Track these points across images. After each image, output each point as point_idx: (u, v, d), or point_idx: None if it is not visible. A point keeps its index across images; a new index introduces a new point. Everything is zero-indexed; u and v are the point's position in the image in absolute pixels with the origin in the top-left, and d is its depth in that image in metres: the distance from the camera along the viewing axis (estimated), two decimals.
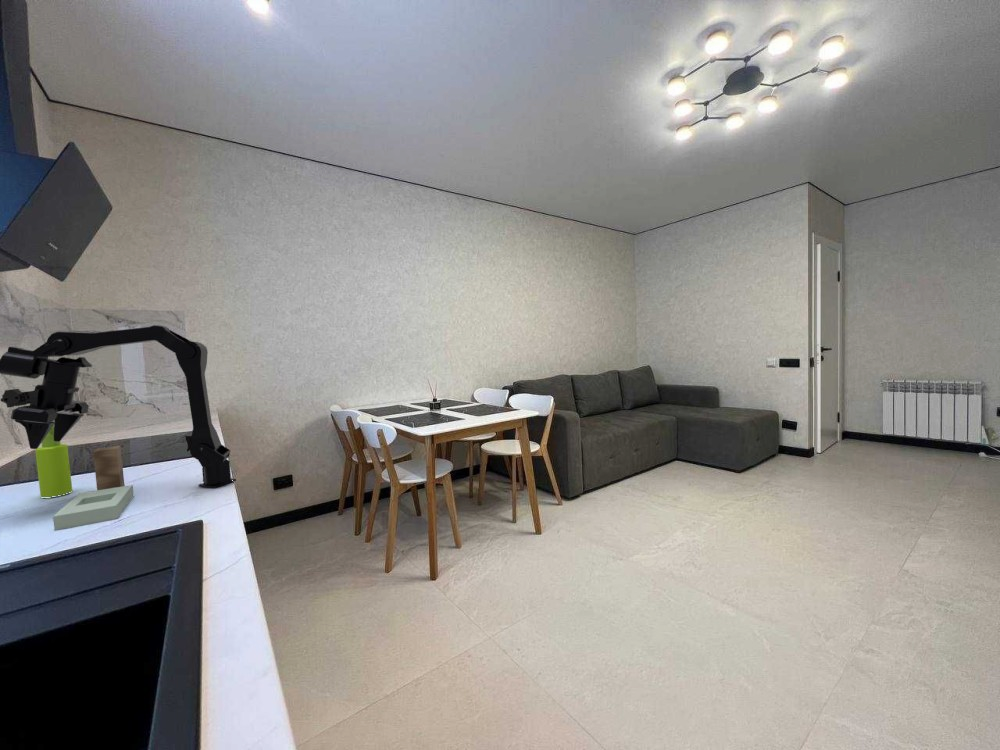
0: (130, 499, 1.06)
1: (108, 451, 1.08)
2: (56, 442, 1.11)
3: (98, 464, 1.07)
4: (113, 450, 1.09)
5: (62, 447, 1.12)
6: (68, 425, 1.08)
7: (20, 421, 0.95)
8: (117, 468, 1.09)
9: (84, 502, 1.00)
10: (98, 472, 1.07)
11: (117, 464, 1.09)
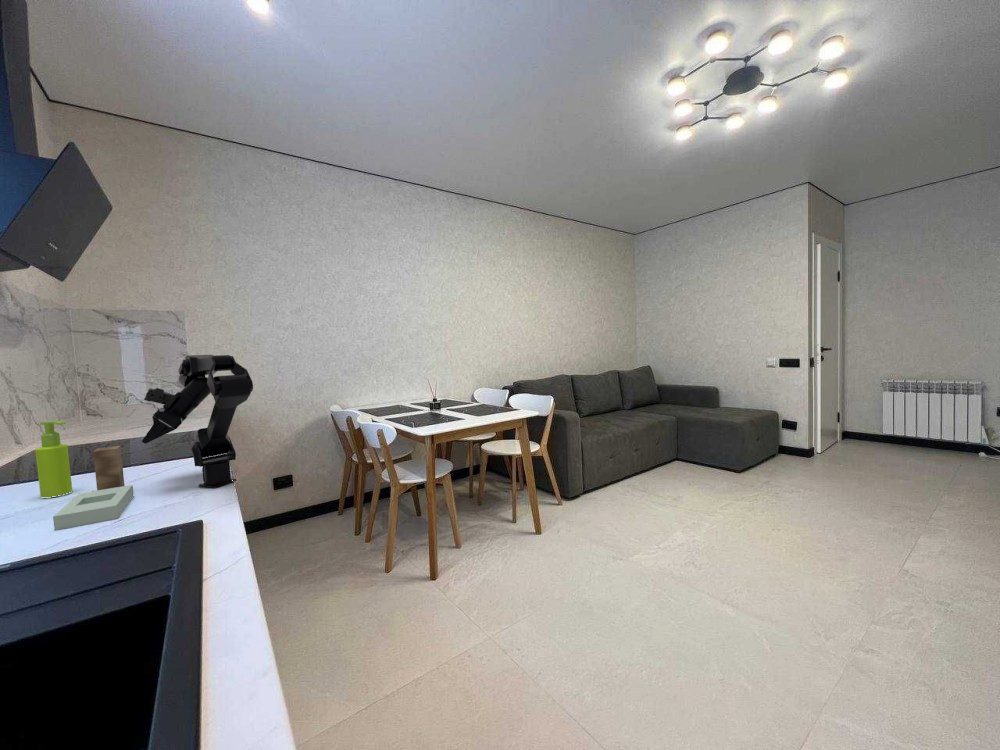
0: (130, 499, 1.06)
1: (108, 451, 1.08)
2: (56, 442, 1.11)
3: (98, 464, 1.07)
4: (113, 450, 1.09)
5: (62, 447, 1.12)
6: None
7: (156, 419, 1.09)
8: (117, 468, 1.09)
9: (84, 502, 1.00)
10: (98, 472, 1.07)
11: (117, 464, 1.09)
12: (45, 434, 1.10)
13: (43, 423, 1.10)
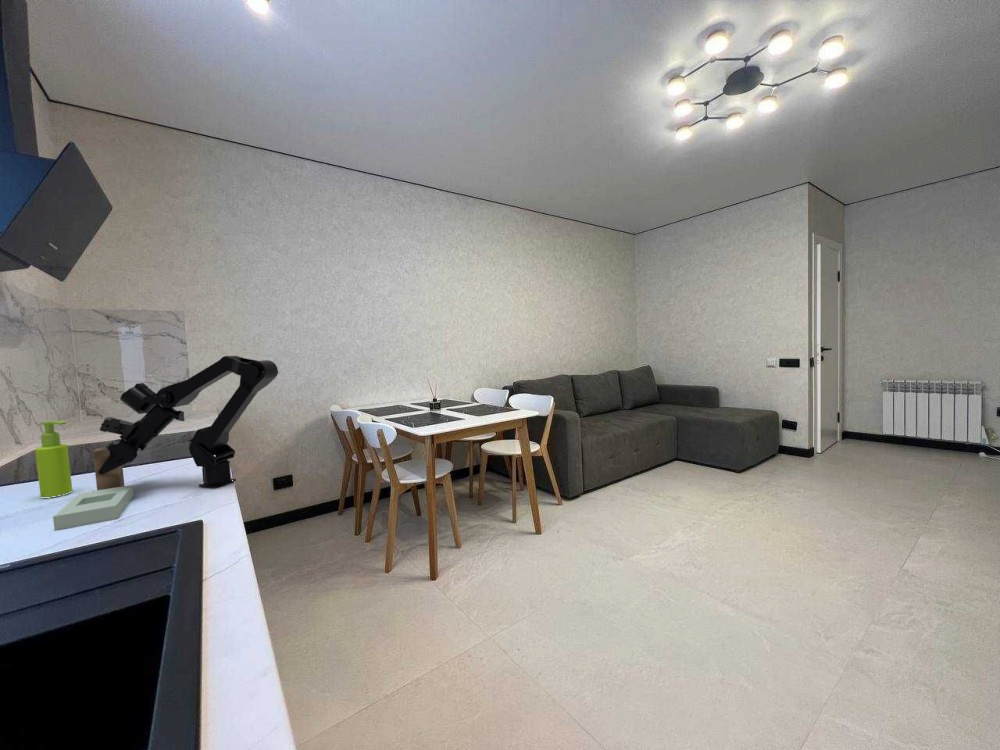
0: (130, 499, 1.06)
1: (108, 451, 1.08)
2: (56, 442, 1.11)
3: (98, 464, 1.07)
4: None
5: (62, 447, 1.12)
6: None
7: None
8: (117, 468, 1.09)
9: (84, 502, 1.00)
10: None
11: None
12: (45, 434, 1.10)
13: (43, 423, 1.10)
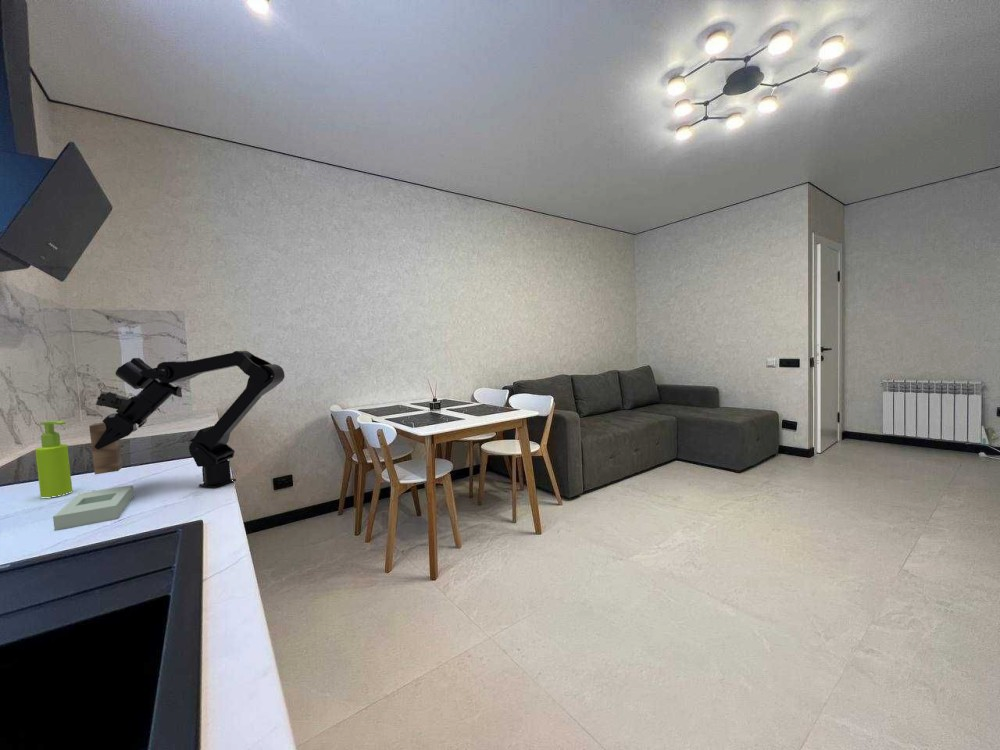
0: (130, 499, 1.06)
1: (104, 426, 1.07)
2: (56, 442, 1.11)
3: (95, 438, 1.06)
4: None
5: (62, 447, 1.12)
6: None
7: None
8: (114, 443, 1.08)
9: (84, 502, 1.00)
10: (94, 447, 1.06)
11: None
12: (45, 434, 1.10)
13: (43, 423, 1.10)
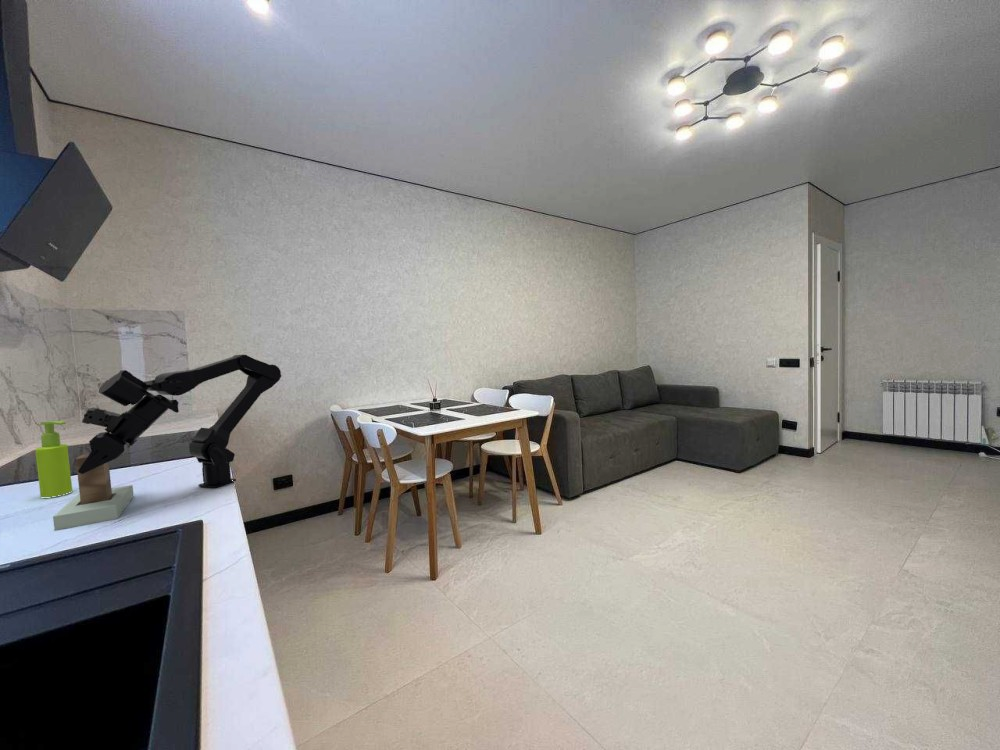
0: (130, 499, 1.06)
1: None
2: (56, 442, 1.11)
3: None
4: None
5: (62, 447, 1.12)
6: None
7: (94, 446, 0.92)
8: (103, 477, 0.97)
9: None
10: (82, 482, 0.95)
11: (103, 473, 0.97)
12: (45, 434, 1.10)
13: (43, 423, 1.10)
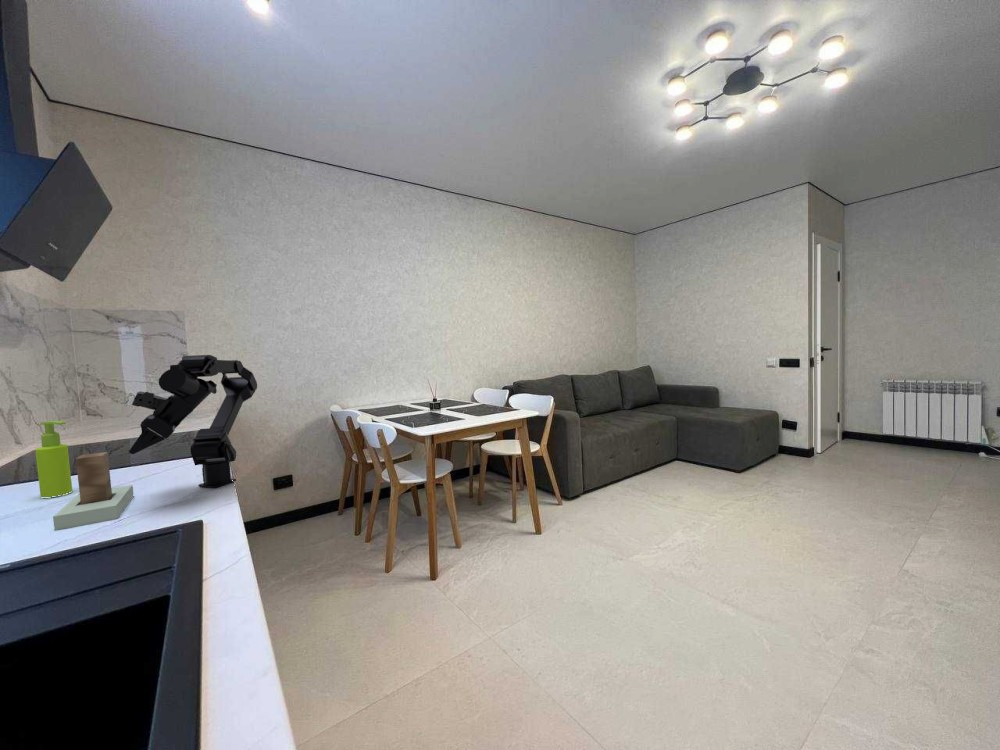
0: (130, 499, 1.06)
1: (93, 458, 0.96)
2: (56, 442, 1.11)
3: (82, 473, 0.95)
4: (99, 457, 0.97)
5: (62, 447, 1.12)
6: None
7: (145, 427, 0.97)
8: (103, 477, 0.97)
9: None
10: (82, 482, 0.95)
11: (103, 473, 0.97)
12: (45, 434, 1.10)
13: (43, 423, 1.10)
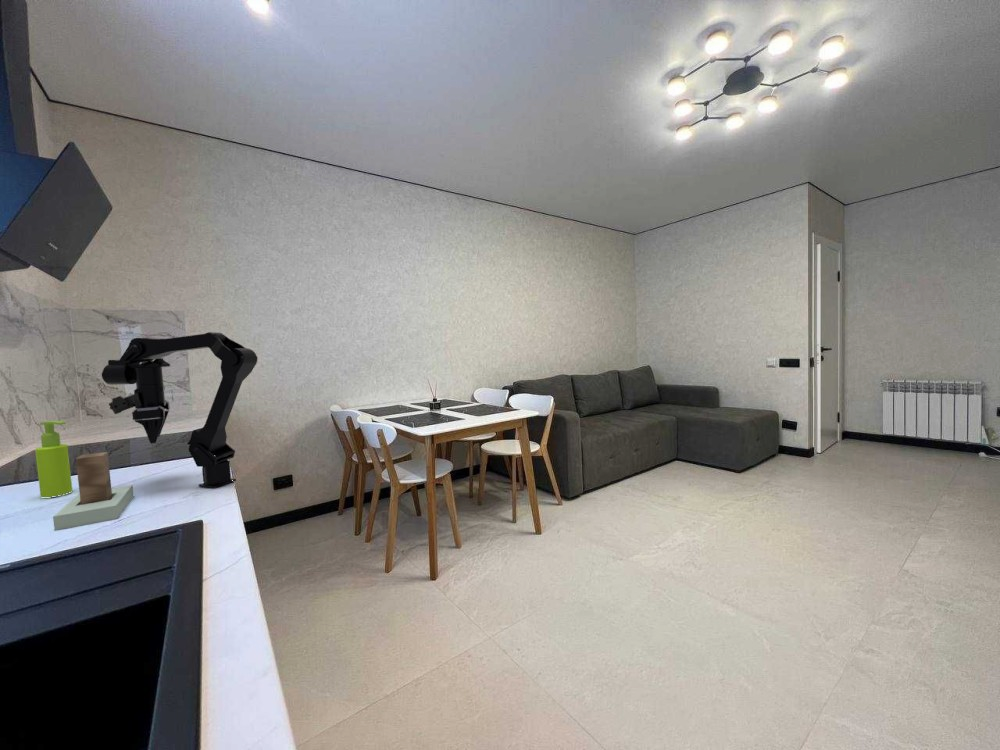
0: (130, 499, 1.06)
1: (93, 458, 0.96)
2: (56, 442, 1.11)
3: (82, 473, 0.95)
4: (99, 457, 0.97)
5: (62, 447, 1.12)
6: None
7: (140, 420, 1.08)
8: (103, 477, 0.97)
9: None
10: (82, 482, 0.95)
11: (103, 473, 0.97)
12: (45, 434, 1.10)
13: (43, 423, 1.10)
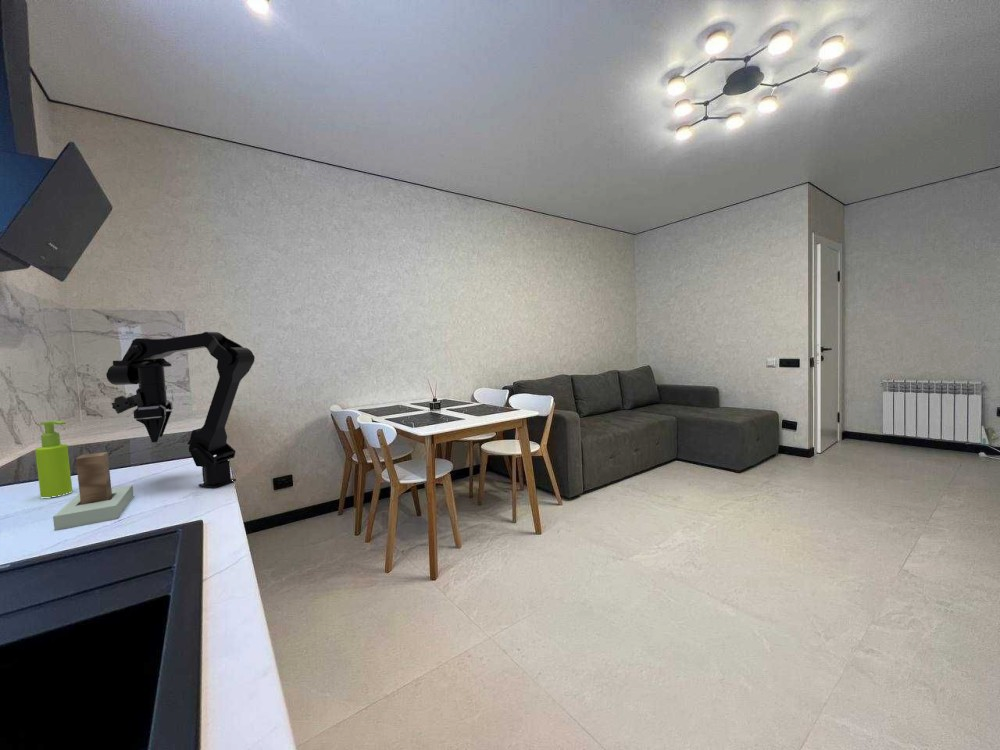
0: (130, 499, 1.06)
1: (93, 458, 0.96)
2: (56, 442, 1.11)
3: (82, 473, 0.95)
4: (99, 457, 0.97)
5: (62, 447, 1.12)
6: (165, 421, 1.21)
7: (141, 419, 1.09)
8: (103, 477, 0.97)
9: None
10: (82, 482, 0.95)
11: (103, 473, 0.97)
12: (45, 434, 1.10)
13: (43, 423, 1.10)
